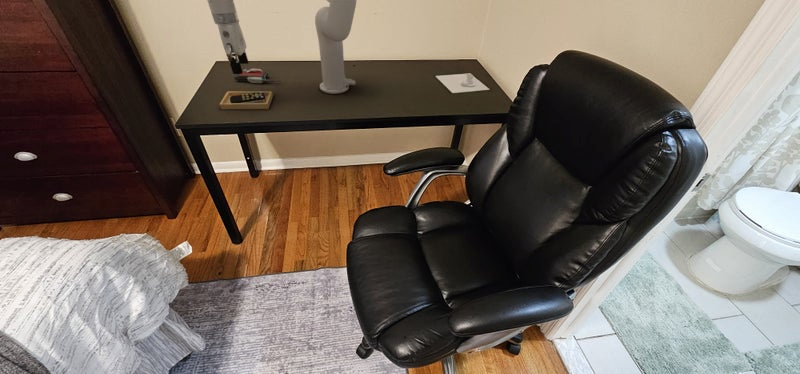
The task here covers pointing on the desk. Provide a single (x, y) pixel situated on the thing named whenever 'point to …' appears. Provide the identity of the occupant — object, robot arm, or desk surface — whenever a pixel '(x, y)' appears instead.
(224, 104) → the tray
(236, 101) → the remote control
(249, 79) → the walkie-talkie
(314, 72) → the desk surface
